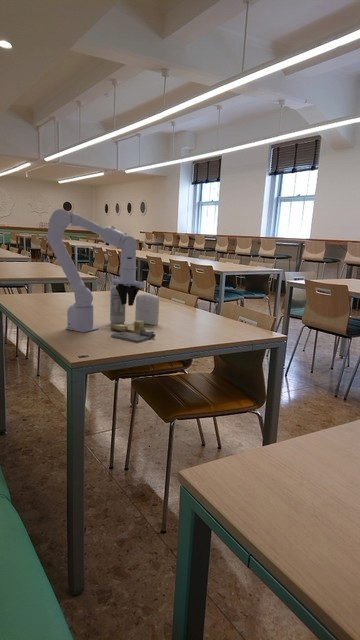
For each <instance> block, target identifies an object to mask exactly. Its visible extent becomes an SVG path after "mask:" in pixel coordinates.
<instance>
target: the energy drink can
mask: <svg viewBox="0 0 360 640" xmlns="http://www.w3.org/2000/svg"><path fill="white" fill-rule="evenodd" d="M116 286H117V285H115V286H114V285H113V286H111V289H110V300H109V301H110V303H109V304H110V305H109V309H110V310H109V313H110V314H109V322H110V323H111V324H112V323H114V324H119V325H124V324H125V322H126V304H124V305H122V304H121V300H120V296H119V293H118V291H117V289H116ZM111 324H110V325H111Z"/></svg>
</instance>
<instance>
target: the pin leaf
mask: <svg viewBox="0 0 360 640" xmlns="http://www.w3.org/2000/svg"><path fill="white" fill-rule="evenodd" d="M156 336H157V335H156V333H155V331H152V330H151V331H147V330H140V334H138V333H133V332H124V331H123V332H121V331H119V332H116V333H113V334H110V337H111V338H115V339H119V340H124V341H129V342H133V343H137V344H138V343H142V342H145V341H148V340H151V339H154V338H155V337H156Z"/></svg>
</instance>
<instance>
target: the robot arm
mask: <svg viewBox="0 0 360 640" xmlns="http://www.w3.org/2000/svg"><path fill="white" fill-rule="evenodd" d="M69 225H71V226H70V227H81V228H83V229H85V230H87V231H89V232H91V233H94V234H96V235H98V236H100V238H101V240H102V241H103V242H104V243H106V244H109V245H111V246H113V247H115V248H118V249H119V248H120V250H121V253H120V273H119V276H120V278H111V285H115V286H116V289H117V291H118V293H119V296H120V300H121V304H122V305H124V304H125V305H127V304H128V307H129V306H131V307H132V306H134V303H135V301H136V297H137V295H138V293H139V292H140V290H141V289H144V288H145V286H146V285H145V282H143V281H139V280H136V279H137V278H136V276H137V275H136V273H137V250H138V248H139V244H138V242H137V240H136V239H135V238H134V237H133V236H130V235H128V233H127V232H122V231H120V230H118V229H116V227H115V226H113V225H111V226H110V225H107V226H104V227H103V226H102V225H100V224H98V223H96V222H94V221H93V220H90V219H88V218H86V217H84V216H82V215H80V214H77V213H74V212H72V211H67V210H65V209H63V208H58V209H56V210H54V211H53V212H52V215H51V216H50V217H49V220H48V229H47V236H46V239H47V242H48V244H49V245H50V247H51V249H52V251H53V253H54V255H55V257H56V259H57V261H58V263H59V265H60V266H61V269H62V271H63V274H65V275H64V276H65V277H66V278H67V281H68V282H69V285H70V287H71V289H72V291H73V293H74V301H75V303H73V304H72V305H69V307H68V309H67V311H66V312H67V313H66V314H67V316H66V317H67V320H66V321H67V322H66V325H67V326H66V327H65V329H67V330H71V331H75V332H80V333H87V332H91V331H95V330H99V327H97V326H94V304H93V301H94V296H93V294H92V290H91V289H90V288H88V287H87V286H86V285H85V282H84V281H83V279H82V277H81V275H80V272H79V271H78V269H77V267H76V265H75V263H74V261H73V259H72V257H71V255H70V253H69V252H68V251H69V250H68V249H67V248H66V245H65V243H64V242H63V239H62V238H63V236H64V233H65V230H66V229H67V228H68V227H69Z"/></svg>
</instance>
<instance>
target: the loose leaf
mask: <svg viewBox="0 0 360 640" xmlns="http://www.w3.org/2000/svg"><path fill="white" fill-rule="evenodd" d="M133 324H134V325H133ZM133 324H129V323H124V324H122V325H119V324H114V323H112V324H110V325H109V326H110V329H111V330H113V331H118V332H123V331H124V332H129V333H134V334H140V330H147V331H152V328H149V327H145V323H144V321H141V320H138V321H135V320H134V323H133Z"/></svg>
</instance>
